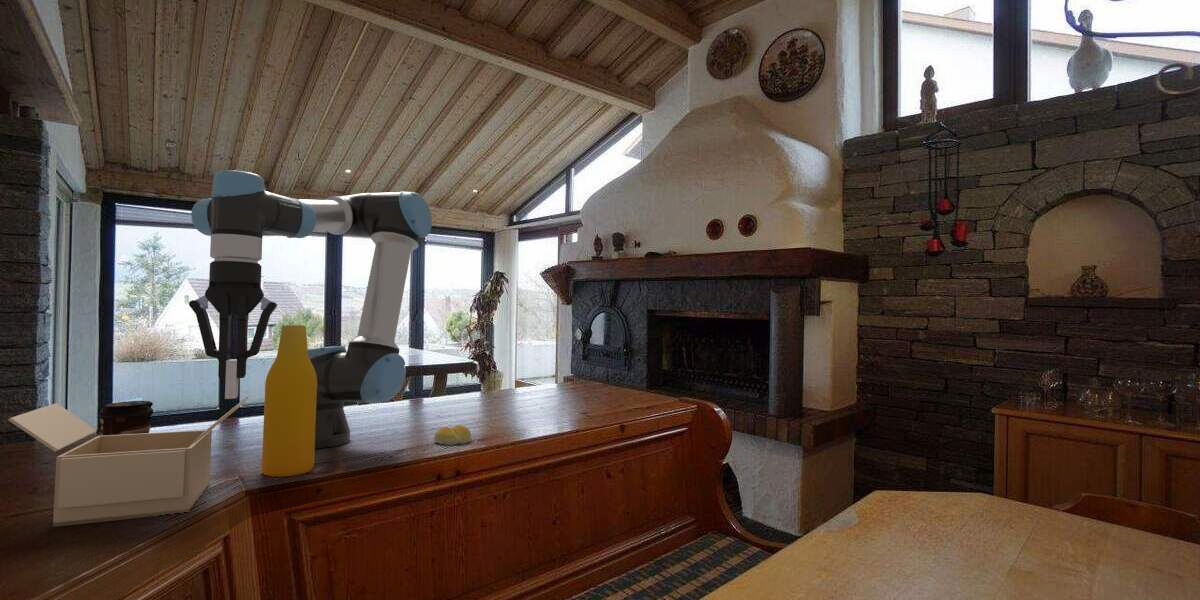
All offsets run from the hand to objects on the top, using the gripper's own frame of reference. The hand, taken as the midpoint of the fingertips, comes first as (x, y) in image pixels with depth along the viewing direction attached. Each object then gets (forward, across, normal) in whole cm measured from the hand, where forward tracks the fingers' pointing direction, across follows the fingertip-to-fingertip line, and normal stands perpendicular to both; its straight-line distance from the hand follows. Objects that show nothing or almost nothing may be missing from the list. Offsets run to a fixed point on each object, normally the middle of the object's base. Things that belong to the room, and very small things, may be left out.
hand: (231, 397), depth 95 cm
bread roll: (+18, -43, -28) cm, 55 cm away
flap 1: (+3, +23, 0) cm, 23 cm away
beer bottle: (+17, -8, -13) cm, 23 cm away
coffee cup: (+17, +21, -25) cm, 37 cm away
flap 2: (+3, +1, 0) cm, 4 cm away
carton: (+17, +12, 0) cm, 20 cm away
